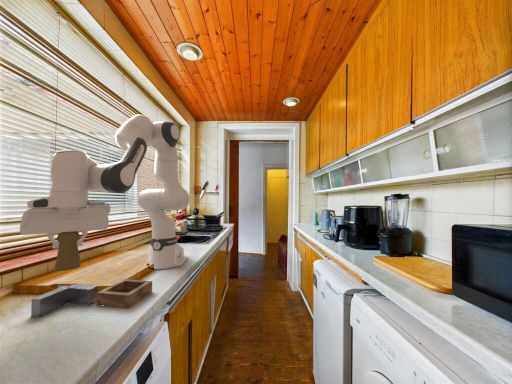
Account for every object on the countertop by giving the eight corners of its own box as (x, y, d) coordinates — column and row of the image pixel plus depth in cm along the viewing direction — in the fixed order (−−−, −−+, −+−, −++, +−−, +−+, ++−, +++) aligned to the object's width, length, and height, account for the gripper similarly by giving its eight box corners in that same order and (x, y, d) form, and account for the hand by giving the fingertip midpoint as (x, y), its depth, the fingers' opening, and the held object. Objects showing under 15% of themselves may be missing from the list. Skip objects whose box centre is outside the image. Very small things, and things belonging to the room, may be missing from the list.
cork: (66, 271, 62) (67, 233, 62) (48, 270, 63) (49, 232, 63) (85, 265, 68) (86, 230, 68) (69, 264, 68) (70, 229, 69)
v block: (36, 307, 67) (36, 290, 67) (97, 293, 76) (98, 279, 76) (29, 319, 60) (29, 301, 60) (97, 303, 69) (98, 287, 70)
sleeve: (123, 290, 80) (123, 279, 80) (151, 292, 78) (152, 281, 78) (96, 305, 68) (96, 292, 68) (128, 308, 66) (128, 295, 67)
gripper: (110, 201, 74) (109, 241, 74) (25, 201, 62) (23, 249, 62) (110, 201, 69) (109, 244, 69) (18, 201, 57) (16, 253, 57)
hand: (68, 246), depth 65 cm, fingers closed on cork, 4 cm apart
